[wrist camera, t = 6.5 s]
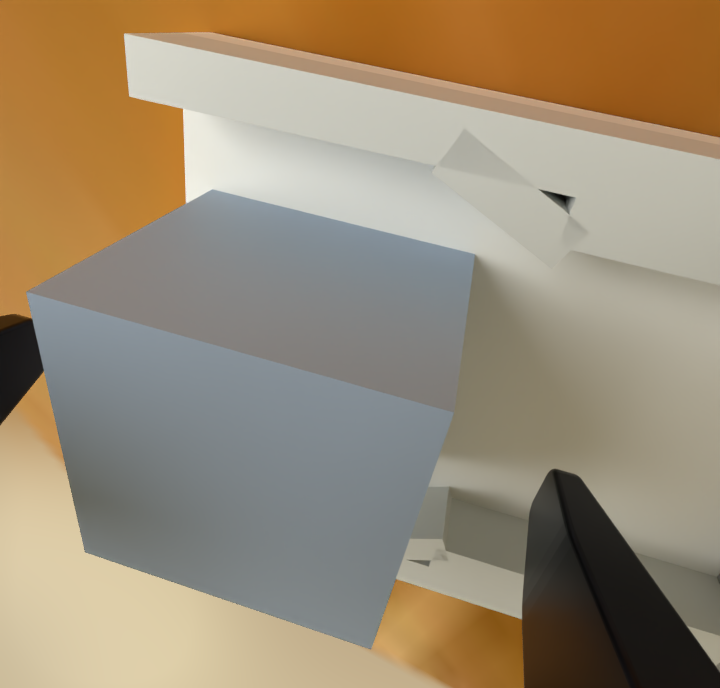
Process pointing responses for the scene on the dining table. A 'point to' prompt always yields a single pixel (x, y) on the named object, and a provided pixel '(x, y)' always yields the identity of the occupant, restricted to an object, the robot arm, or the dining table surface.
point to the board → (505, 288)
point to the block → (256, 402)
